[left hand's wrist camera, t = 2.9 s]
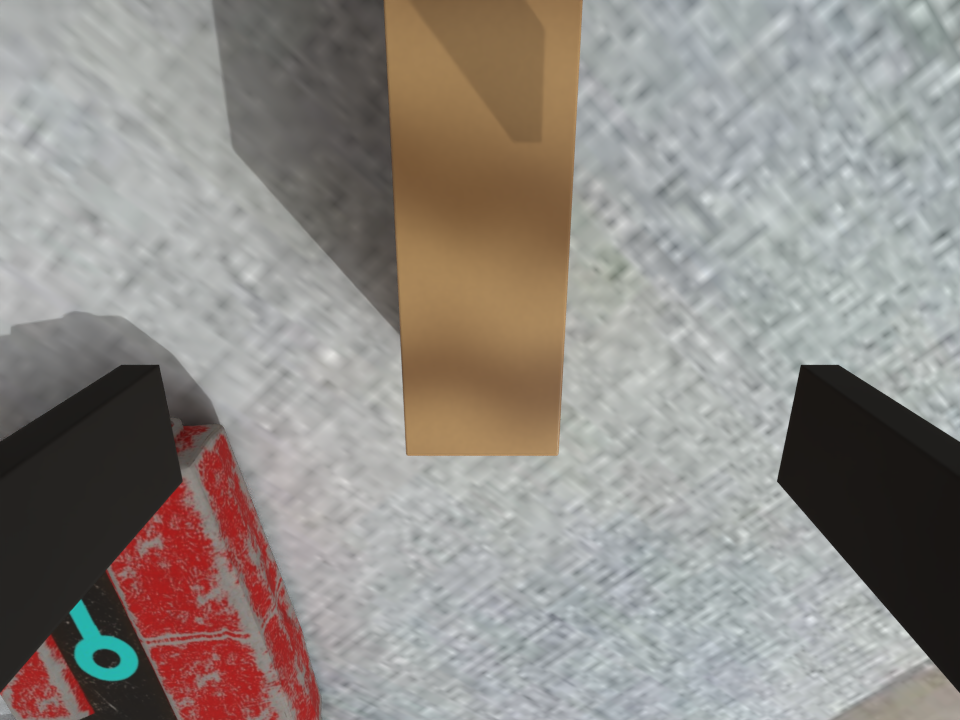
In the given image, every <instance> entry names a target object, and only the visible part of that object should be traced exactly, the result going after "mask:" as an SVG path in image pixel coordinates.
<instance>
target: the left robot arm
mask: <svg viewBox="0 0 960 720" xmlns="http://www.w3.org/2000/svg"><path fill="white" fill-rule="evenodd" d="M182 482H183V479H182V474H181V469H180V465H179V460H178V455H177V450H176V445H175V440H174V435H173V430H172V426H171V421H170V416H169V411H168V406H167V401H166V396H165V392H164V387H163V382H162V377H161V372H160V367H159V365H121V366H119V367H118V368H116V369H114V370H113V371H111V372H110V373H108V374H107V375H105V376H103V377H102V378H100V379H99V380H97V381H95V382H94V383H92V384H91V385H89V386H88V387H86V388H84V389H83V390H81V391H80V392H78V393H77V394H75V395H73V396H72V397H70V398H69V399H67V400H66V401H64V402H62V403H61V404H59V405H58V406H56V407H54V408H53V409H51V410H50V411H48V412H47V413H45V414H43V415H42V416H40V417H39V418H37V419H36V420H34V421H32V422H31V423H29V424H28V425H26V426H25V427H23V428H21V429H20V430H18V431H17V432H15V433H13V434H12V435H10V436H9V437H7V438H6V439H4V440H2V441H1V442H0V693H1V691H2V690H3V689H4V688H5V687H6V686H7V684H8V683H9V682H10V681H11V680H12V679H13V677H14V676H15V675H16V674H17V673H18V672H19V671H20V669H21V668H22V667H23V666H24V665H25V664H26V662H27V661H28V660H29V659H30V658H31V657H32V655H33V654H34V653H35V652H36V651H37V650H38V649H39V647H40V646H41V645H42V644H43V643H44V642H45V640H46V639H47V638H48V637H49V636H50V635H51V633H52V632H53V631H54V630H55V629H56V628H57V627H58V625H59V624H60V623H61V622H62V621H63V620H64V618H65V617H66V616H67V615H68V614H69V613H70V611H71V610H72V609H73V608H74V607H75V606H76V605H77V603H78V602H79V601H80V600H81V599H82V598H83V596H84V595H85V594H86V593H87V592H88V591H89V590H90V588H91V587H92V586H93V585H94V584H95V583H96V581H97V580H98V579H99V578H100V577H101V576H102V574H103V573H104V572H105V571H106V570H107V569H108V568H109V566H110V565H111V564H112V563H113V562H114V561H115V559H116V558H117V557H118V556H119V555H120V554H121V552H122V551H123V550H124V549H125V548H126V547H127V546H128V544H129V543H130V542H131V541H132V540H133V539H134V537H135V536H136V535H137V534H138V533H139V532H140V530H141V529H142V528H143V527H144V526H145V525H146V524H147V522H148V521H149V520H150V519H151V518H152V517H153V515H154V514H155V513H156V512H157V511H158V510H159V508H160V507H161V506H162V505H163V504H164V503H165V502H166V500H167V499H168V498H169V497H170V496H171V495H172V493H173V492H174V491H175V490H176V489H177V488H178V487H179V485H180V484H181V483H182ZM777 482H778V483H779V484H780V485H781V487H782V488H783V489H784V490H785V491H786V492H787V493H788V495H789V496H790V497H791V498H792V499H793V500H794V502H795V503H796V504H797V505H798V506H799V507H800V509H801V510H802V511H803V512H804V513H805V514H806V515H807V517H808V518H809V519H810V520H811V521H812V522H813V524H814V525H815V526H816V527H817V528H818V529H819V530H820V532H821V533H822V534H823V535H824V536H825V537H826V539H827V540H828V541H829V542H830V543H831V544H832V546H833V547H834V548H835V549H836V550H837V551H838V552H839V554H840V555H841V556H842V557H843V558H844V559H845V561H846V562H847V563H848V564H849V565H850V566H851V568H852V569H853V570H854V571H855V572H856V573H857V574H858V576H859V577H860V578H861V579H862V580H863V581H864V583H865V584H866V585H867V586H868V587H869V588H870V590H871V591H872V592H873V593H874V594H875V595H876V596H877V598H878V599H879V600H880V601H881V602H882V603H883V605H884V606H885V607H886V608H887V609H888V610H889V611H890V613H891V614H892V615H893V616H894V617H895V618H896V620H897V621H898V622H899V623H900V624H901V625H902V627H903V628H904V629H905V630H906V631H907V632H908V633H909V635H910V636H911V637H912V638H913V639H914V640H915V642H916V643H917V644H918V645H919V646H920V647H921V649H922V650H923V651H924V652H925V653H926V654H927V655H928V657H929V658H930V659H931V660H932V661H933V662H934V664H935V665H936V666H937V667H938V668H939V669H940V671H941V672H942V673H943V674H944V675H945V676H946V677H947V679H948V680H949V681H950V682H951V683H952V684H953V686H954V687H955V688H956V689H957V690H958V691H959V693H960V442H959V441H958V440H956V439H954V438H953V437H951V436H950V435H948V434H947V433H945V432H943V431H942V430H940V429H939V428H937V427H935V426H934V425H932V424H931V423H929V422H928V421H926V420H924V419H923V418H921V417H920V416H918V415H917V414H915V413H913V412H912V411H910V410H909V409H907V408H906V407H904V406H902V405H901V404H899V403H898V402H896V401H894V400H893V399H891V398H890V397H888V396H887V395H885V394H883V393H882V392H880V391H879V390H877V389H876V388H874V387H872V386H871V385H869V384H868V383H866V382H865V381H863V380H861V379H860V378H858V377H857V376H855V375H853V374H852V373H850V372H849V371H847V370H846V369H844V368H842V367H841V366H839V365H801V367H800V372H799V377H798V382H797V387H796V392H795V396H794V401H793V406H792V411H791V416H790V421H789V426H788V430H787V435H786V440H785V445H784V450H783V455H782V460H781V465H780V469H779V474H778V479H777Z"/></svg>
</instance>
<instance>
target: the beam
mask: <svg viewBox="0 0 960 720" xmlns="http://www.w3.org/2000/svg"><path fill="white" fill-rule="evenodd" d="M582 3H583V0H384V20H385V40H386V60H387V80H388V100H389V120H390V140H391V160H392V180H393V200H394V220H395V240H396V260H397V280H398V300H399V320H400V340H401V360H402V380H403V400H404V420H405V440H406V454H407V455H408V456H557V455H558V453H559V435H560V416H561V397H562V378H563V360H564V341H565V322H566V303H567V285H568V266H569V247H570V228H571V210H572V191H573V172H574V153H575V134H576V116H577V97H578V78H579V59H580V41H581V22H582Z"/></svg>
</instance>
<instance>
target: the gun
mask: <svg viewBox="0 0 960 720" xmlns="http://www.w3.org/2000/svg"><path fill="white" fill-rule="evenodd" d="M170 421H171V426H172V430H173V435H174V440H175V445H176V450H177V455H178V460H179V465H180V469H181V474H182V479H183V482H182V483H181V484H180V485H179V487H178V488H177V489H176V490H175V491H174V492H173V493H172V495H171V496H170V497H169V498H168V499H167V500H166V502H165V503H164V504H163V505H162V506H161V507H160V508H159V510H158V511H157V512H156V513H155V514H154V515H153V517H152V518H151V519H150V520H149V521H148V522H147V524H146V525H145V526H144V527H143V528H142V529H141V530H140V532H139V533H138V534H137V535H136V536H135V537H134V539H133V540H132V541H131V542H130V543H129V544H128V546H127V547H126V548H125V549H124V550H123V551H122V552H121V554H120V555H119V556H118V557H117V558H116V559H115V561H114V562H113V563H112V564H111V565H110V566H109V568H108V569H107V570H106V571H105V572H104V573H103V574H102V576H101V577H100V578H99V579H98V580H97V581H96V583H95V584H94V585H93V586H92V587H91V588H90V590H89V591H88V592H87V593H86V594H85V595H84V596H83V598H82V599H81V600H80V601H79V602H78V603H77V605H76V606H75V607H74V608H73V609H72V610H71V611H70V613H69V614H68V615H67V616H66V617H65V618H64V620H63V621H62V622H61V623H60V624H59V625H58V627H57V628H56V629H55V630H54V631H53V632H52V633H51V635H50V636H49V637H48V638H47V639H46V640H45V642H44V643H43V644H42V645H41V646H40V647H39V649H38V650H37V651H36V652H35V653H34V654H33V655H32V657H31V658H30V659H29V660H28V661H27V662H26V664H25V665H24V666H23V667H22V668H21V669H20V671H19V672H18V673H17V674H16V675H15V676H14V677H13V679H12V680H11V681H10V682H9V683H8V684H7V686H6V687H5V688H4V689H3V690H2V691H1V693H0V694H1V696H2V698H3V699H4V701H5V703H6V704H7V706H8V708H9V709H10V711H11V713H12V714H13V716H14V718H15V720H322V717H321V705H322V697H321V694H320V691H319V688H318V685H317V682H316V678H315V675H314V672H313V669H312V666H311V662H310V659H309V655H308V651H307V647H306V644H305V640H304V636H303V632H302V629H301V627H300V624H299V622H298V619H297V616H296V614H295V611H294V609H293V606H292V603H291V601H290V598H289V596H288V593H287V590H286V588H285V585H284V583H283V580H282V577H281V575H280V572H279V570H278V567H277V564H276V562H275V559H274V557H273V554H272V552H271V549H270V546H269V544H268V541H267V539H266V536H265V533H264V531H263V528H262V526H261V523H260V520H259V518H258V515H257V513H256V510H255V507H254V505H253V502H252V500H251V497H250V494H249V492H248V489H247V487H246V484H245V482H244V479H243V476H242V474H241V471H240V469H239V466H238V463H237V461H236V458H235V456H234V453H233V450H232V448H231V445H230V443H229V440H228V437H227V435H226V432H225V430H224V427H223V426H222V425H219V424H209V425H195V426H183V425H182V422H181V419H177V418H170Z"/></svg>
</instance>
